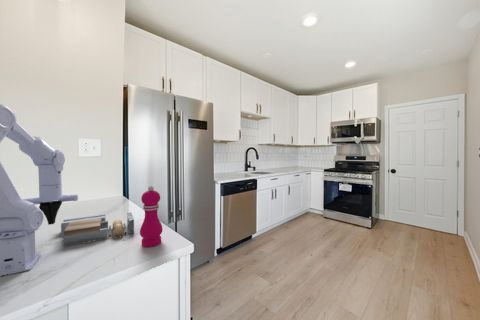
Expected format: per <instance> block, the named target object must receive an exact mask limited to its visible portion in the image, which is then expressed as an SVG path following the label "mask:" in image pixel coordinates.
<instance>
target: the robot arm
mask: <svg viewBox="0 0 480 320" xmlns="http://www.w3.org/2000/svg"><path fill="white" fill-rule="evenodd" d="M5 137H6V138H7V139H9V140H11V141H12V142H14V143H16V144H18V148H19V150H20V152H22V153H24V154H26V156H28V157H30V159H31V160H32V162H33V165H34V166H35V167H37V168H38V169H37V170H38V192H39V193H38V194H39V195H38V196H39V197H31V198H23V199H22V198H21V196H20V195H19V193H18V191H17V190H16V187H15V186H14V184H13V183H12V181H11V179H10V177H9V175H8V173H7V172H6V169H5V168H4V165H3V163H1V161H0V277H2V275H4V276H7V274H8V275H12V274H17V273H21V272H25V271H29V270H32V268H33V267H34V266H35V264H36V262H38V260H39V258H40V257H41V255H42V254H41V253H37V254H36V231H37V230H39V228H40V227H41V226H42V225H43V222H44V216H45V219H46V220H47V224H48V226H50V225H55V223H56V218H57V215H58V212H59V209H60V208H61V206H62V203H64V202H76V201H79V194H63V190H62V188H63V185H62V172H63V171H64V164H65V162H66V157H65V155H64V152H62V151H61V150H59V149H54V148H53V147H51V146H50V145H49V144H48V143H47V142H45V141H44V140H43V139H42V137H40V136H33V135H31V134H29V132H28V131H27V130H25V128H24V127H23V126H21V124H19V122H17V116H16V113H14V112H13V111H12V110H11V109H10V108H9V107H8V106H7V105H4V104H2V103H0V143H1V142H2V141H3V140H4V139H5ZM37 205H39V206H38V207H37ZM33 265H34V266H33Z"/></svg>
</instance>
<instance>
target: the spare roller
mask: <svg viewBox="0 0 480 320" xmlns="http://www.w3.org/2000/svg"><path fill="white" fill-rule="evenodd" d="M123 235H125V233H124V227H123V221H122V220H121V219H116V220H113V222H112V236H113V237H114V238H115V237H118V238H121V237H123ZM120 236H121V237H120Z"/></svg>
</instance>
